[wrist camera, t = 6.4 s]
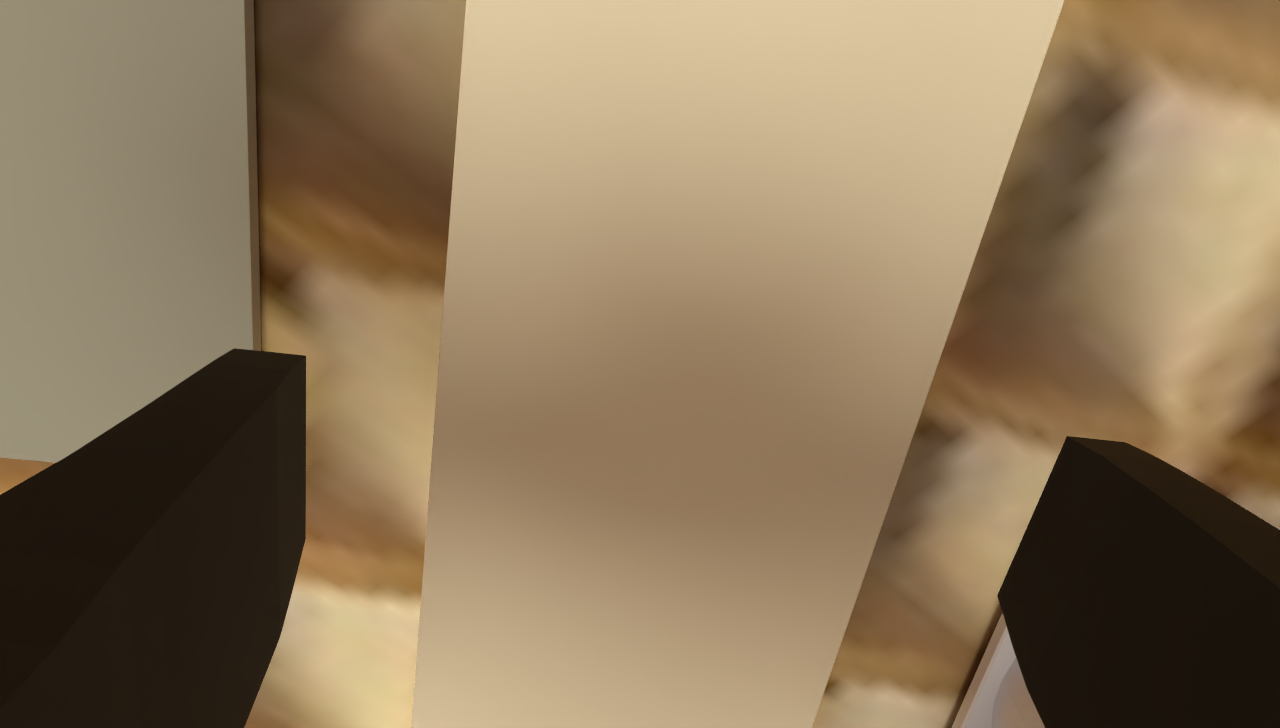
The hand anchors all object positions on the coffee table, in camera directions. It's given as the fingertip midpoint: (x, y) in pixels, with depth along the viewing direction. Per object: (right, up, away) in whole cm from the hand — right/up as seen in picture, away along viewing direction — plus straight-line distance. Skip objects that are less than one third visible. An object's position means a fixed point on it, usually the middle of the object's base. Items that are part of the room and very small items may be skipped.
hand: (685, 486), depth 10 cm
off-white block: (0, +4, +7) cm, 8 cm away
